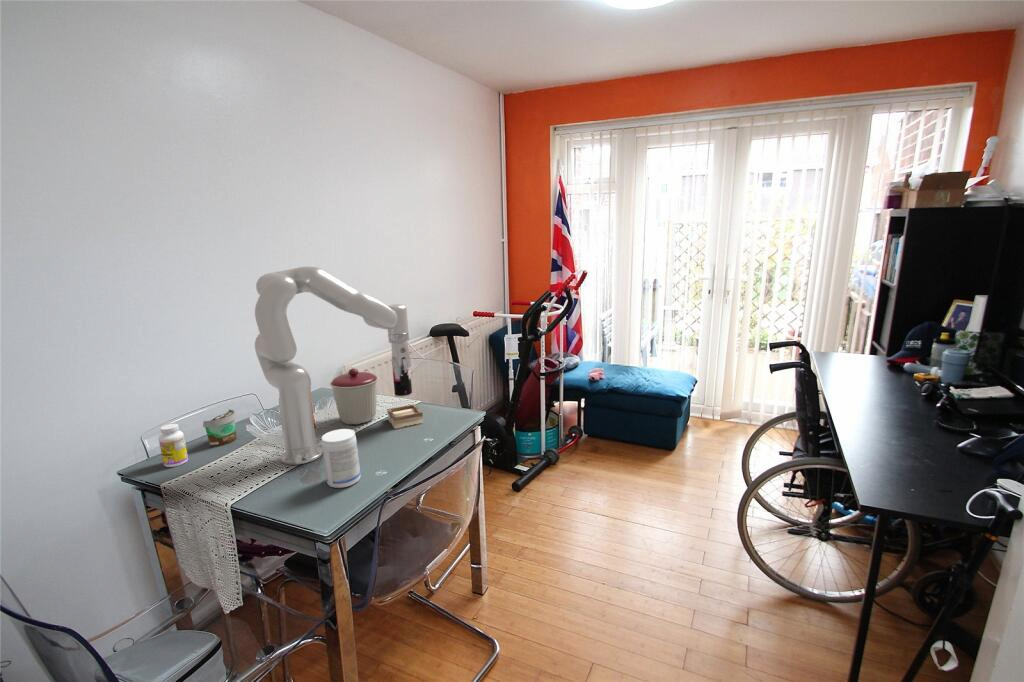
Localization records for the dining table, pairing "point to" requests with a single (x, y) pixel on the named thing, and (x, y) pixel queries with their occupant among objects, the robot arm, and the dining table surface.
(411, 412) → the wooden tray
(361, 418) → the canister
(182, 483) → the dining table surface
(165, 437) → the supplement bottle
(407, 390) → the beverage can
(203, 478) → the dining table surface
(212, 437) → the food container
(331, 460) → the supplement tub
